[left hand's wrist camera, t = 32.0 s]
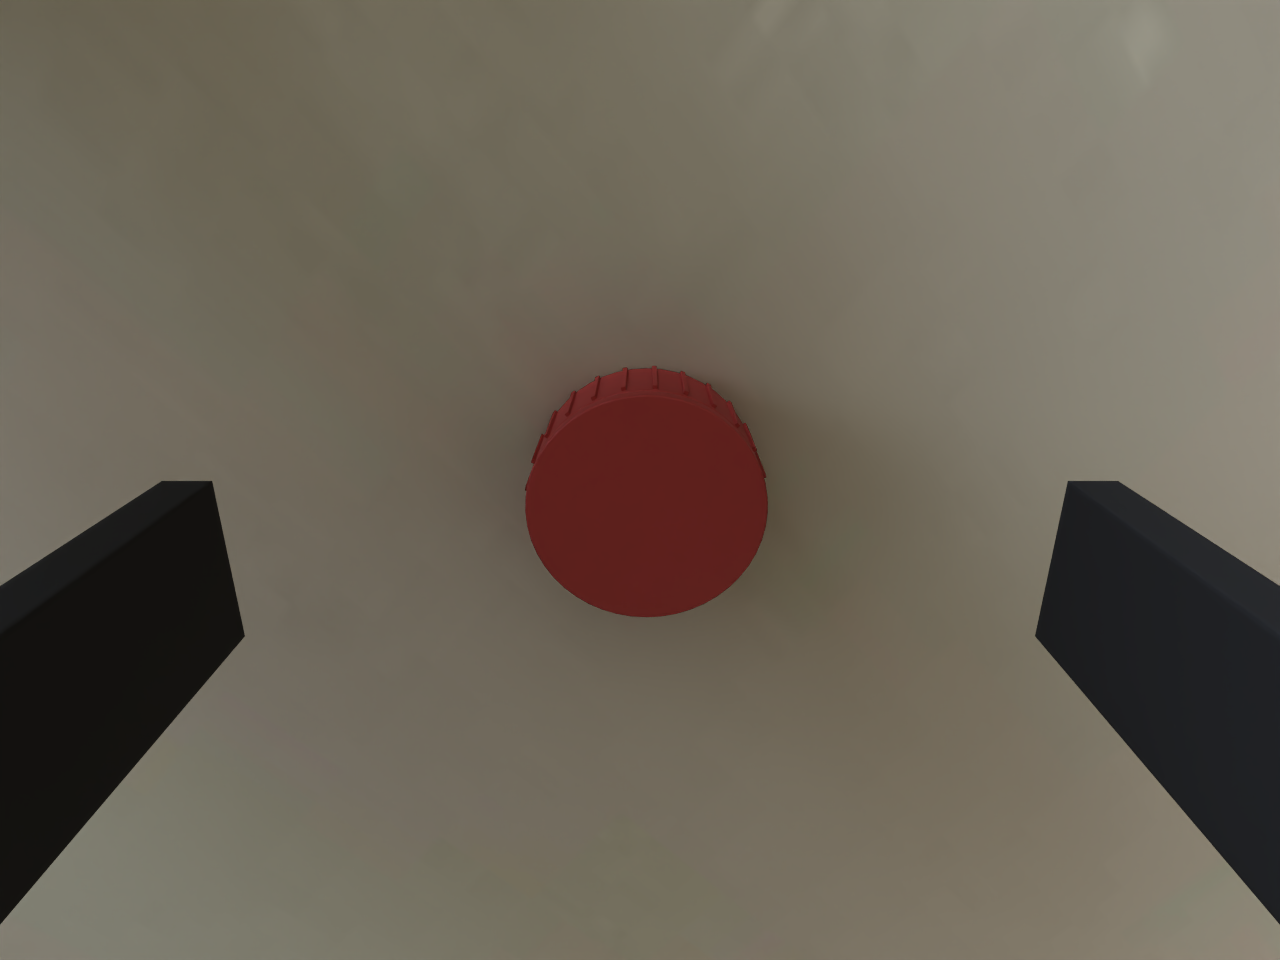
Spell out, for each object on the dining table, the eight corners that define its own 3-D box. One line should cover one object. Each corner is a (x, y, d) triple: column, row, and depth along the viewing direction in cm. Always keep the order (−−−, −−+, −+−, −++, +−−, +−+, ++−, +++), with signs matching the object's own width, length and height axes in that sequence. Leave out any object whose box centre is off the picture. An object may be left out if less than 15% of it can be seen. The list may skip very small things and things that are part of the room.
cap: (527, 557, 16) (513, 606, 15) (545, 350, 15) (531, 375, 13) (735, 582, 17) (746, 632, 15) (775, 380, 15) (793, 409, 13)
